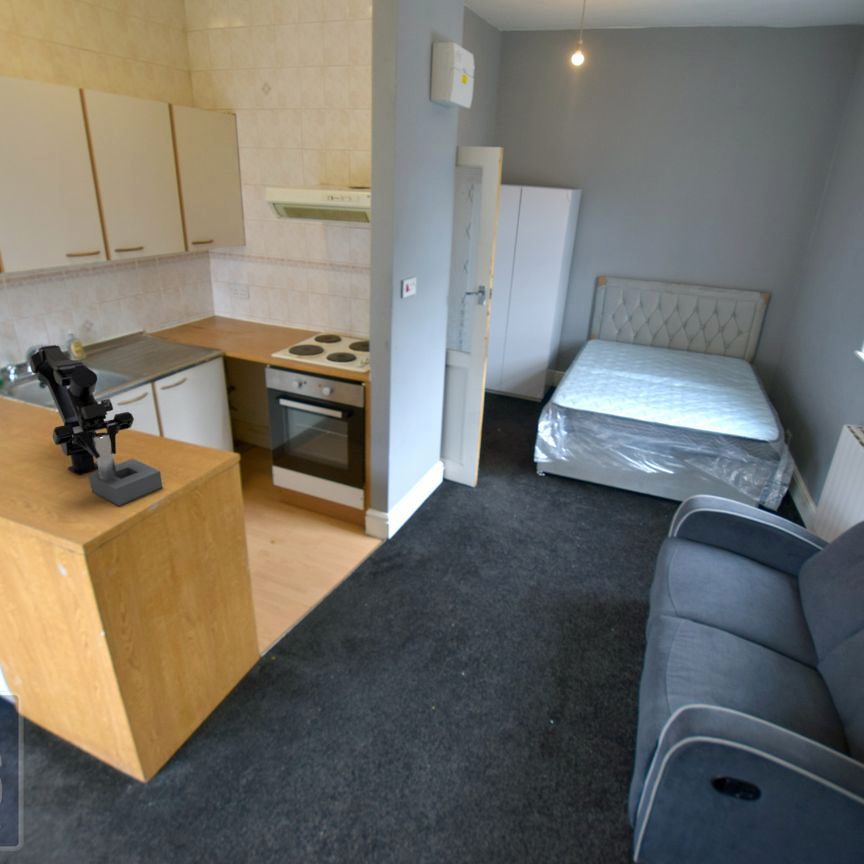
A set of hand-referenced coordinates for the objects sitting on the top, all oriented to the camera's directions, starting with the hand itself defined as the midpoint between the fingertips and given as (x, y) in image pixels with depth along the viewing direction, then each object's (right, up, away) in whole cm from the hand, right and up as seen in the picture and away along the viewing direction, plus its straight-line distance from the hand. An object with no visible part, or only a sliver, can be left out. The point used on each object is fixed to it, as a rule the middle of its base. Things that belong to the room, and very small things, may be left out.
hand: (106, 455), depth 152 cm
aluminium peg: (-1, -6, +4) cm, 7 cm away
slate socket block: (0, -10, +11) cm, 15 cm away
